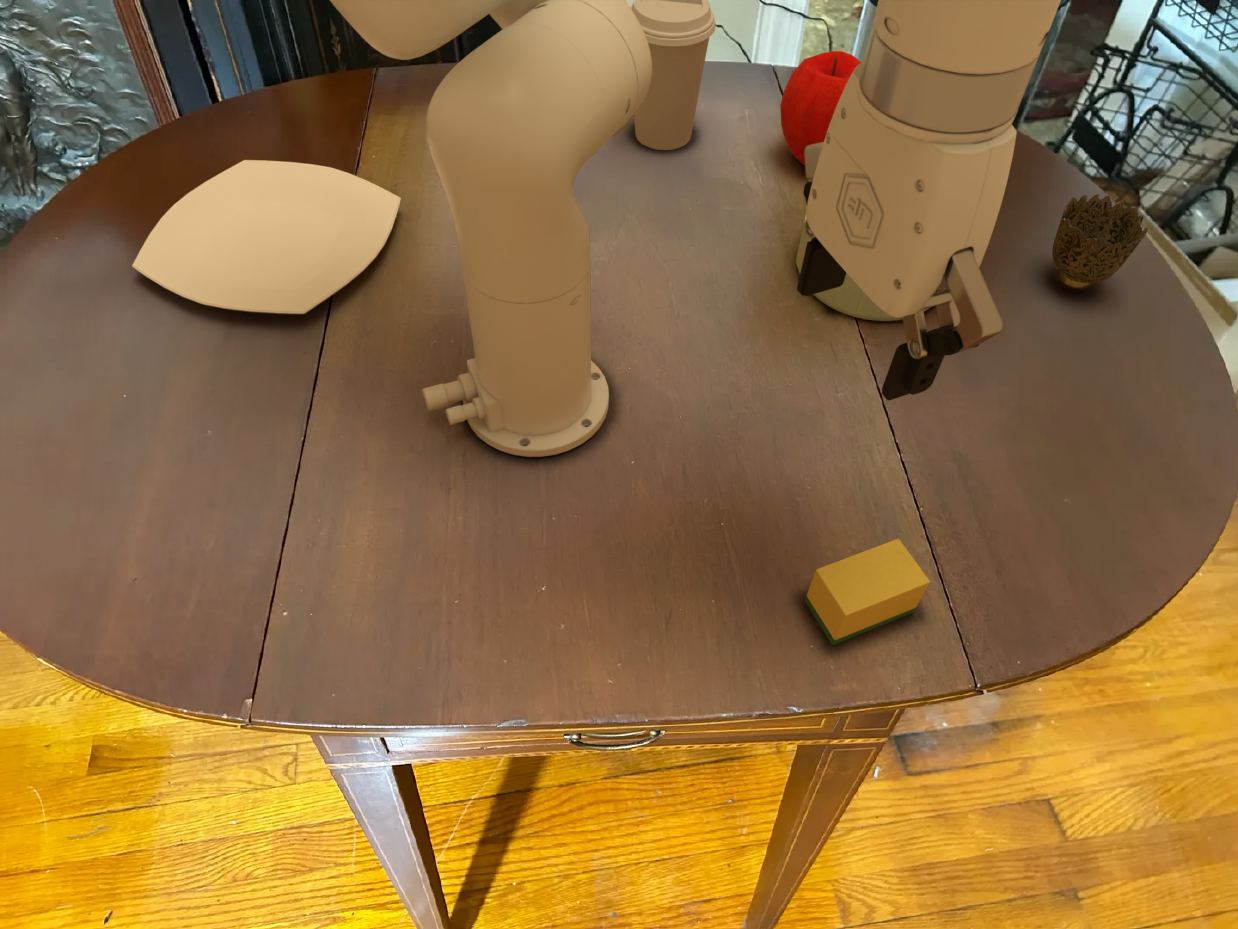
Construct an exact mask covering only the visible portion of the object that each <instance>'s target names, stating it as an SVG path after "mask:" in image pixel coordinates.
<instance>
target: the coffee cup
mask: <svg viewBox="0 0 1238 929" xmlns="http://www.w3.org/2000/svg"><path fill="white" fill-rule="evenodd" d="M630 8H631V9H632V11H633V13H634V14H635V16H636V18H637V19H638V21H639V23H640V25H641V27H642V29H643V32H644V34H645V36H646V39H647V42H648V45H649V49H650V53H651V59H652V78H651V83H650V88H649V91H648V93H647V95H646V98H645V100H644V101H643V103H642V105H641V106H640V107H639V109H638V110H637V111H636V112H635V113H634V115H633V116H634V130H635V131H634V134H635V139H636V140H637V141H638V142H639V143H640V144H641V145H643V146H645V147H647V148H649V149H653V150H657V151H672V150H678V149H680V148H682V147H684V146H686V145H687V144H688V143H689V142H690V141H691V138H692V132H693V127H694V122H695V116H696V111H697V106H698V100H699V95H700V90H701V89H700V88H701V84H702V79H703V73H704V68H705V63H706V56H707V53H708V52H707V51H708V48H709V47H708V46H709V42H710V37H711V36H712V35H713V34H714V33H715V31H716V26H717V25H716V19H715V16H714V12H713V10H712V9H711V5H710V2H709V0H633V3H632V4H631V6H630Z"/></svg>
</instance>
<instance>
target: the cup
mask: <svg viewBox="0 0 1238 929" xmlns="http://www.w3.org/2000/svg"><path fill="white" fill-rule="evenodd" d="M1124 203H1125V201H1124V199H1121V200H1119V201H1117V202H1116V203H1115V204H1114V205H1113V201H1112V200H1111V197H1110V195H1105V196H1104V197H1103V198H1101V196H1100V194H1099V193H1097V194H1094V195H1093V196H1092V197H1090V198H1089V199H1088V194H1083V195H1081V197H1080V198H1079V200H1077V199H1076V197H1074V196H1073V197H1071V199H1070V200H1069V201H1068V202H1067V203H1066V204H1065V205H1064V209H1063V213H1062V216H1061V219H1060V221H1059V224H1058V228H1057V231H1056V233H1055V238H1054V240H1053V244H1052V251H1051V254H1052V255H1051V257H1052V262H1053V265H1054V266H1055V268H1056V270H1055V273H1054V274H1055V282H1056V283H1057V284H1058V286H1059V287H1060V288H1062V289H1063V290H1066V291H1069V292H1070V293H1071V292H1072V293H1084V292H1086V291H1088V290H1090V289H1091V288H1092V287H1093V286H1094V285H1095V283H1099V282H1103V281H1105V280H1107V279H1109V278H1110V277H1112V276H1113V275H1115V274H1116V273H1117V272H1118V271H1119V270H1120V268H1121V267H1122V266H1123V265H1124V264H1125V263H1126V261H1127V260H1128V259H1129V258H1130V256H1132V254H1133V252H1134V251H1135V250H1136V248H1137V247H1138V246H1139V244H1140V243H1141V242H1142V240H1143V239H1144V238H1145V237H1146V234H1147V233H1148V231H1149V227H1144V228H1143V227H1142V226H1141V225H1142V222H1143V220H1144V215H1139V208H1138V207H1137V206H1128V207H1124V205H1125V204H1124Z"/></svg>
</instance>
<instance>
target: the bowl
mask: <svg viewBox="0 0 1238 929" xmlns="http://www.w3.org/2000/svg"><path fill="white" fill-rule="evenodd" d="M806 211H807V208H806V210H805V213H804V214H805V215H804V219H803V222H802V227H801V232H800V236H799V241H798V246H797V252H796V258H795V264H796V267H797V270H798V273H799V274H800V272H801V268H802V264H803V259H804V255H805V250H806V246H807V242H810V241H811V239H809V238H808V237H807V236H806V234H805V230H804V223H805V221H806V220H807V218H806ZM813 296H814V297H815V298H816V299H818V300H819V301H820V302H822V303H823V304H824V305H826V306H827V307H829V308H831V309H833V310H835V311H837V312H839V313H842V314H844V315H847V316H850V317H854V318H857V319H862V320H868V321H876V322H892V321H893V322H894V321H901V320H902V321H903V317H900V318H896V317H893V316H891V315H889V314H887V313H885V312H884V311H882V310H881V309H880V308H879V307H878V306H877V305H876V304H875V303H874V302H873V301H872V300H871V299H870V298H869V297H868V296H867V295H866V294H865V293H864V292H863V291H862V289H861V288H860V287H859V286H858V285H857V284H856V283H855V282H854V281H853V279H852V278H851V277H850V276H849V275H848V274H847V273H846V276H845V280H844V283H843V284H842V285H841V286H840V287H837V288H833V289H830V290H826V291H823V292H819V293H816V294H813ZM929 309H930V308H927V309H923V311H924V312H926V311H928V310H929Z"/></svg>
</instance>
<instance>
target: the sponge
mask: <svg viewBox="0 0 1238 929" xmlns="http://www.w3.org/2000/svg"><path fill="white" fill-rule="evenodd" d="M930 584H931V581H930V580H929V578H928V576H927V575H926V573H925V572H924V571H923V569H922V568H921V567H920V565H919V564H918V562H917V561H916V560H915V559H914V557H913V556H912V555H911V553H910V552H909V551H908V549H907V547H906V546H905V545H904V544H903V542H902V541H901V540H900V538H895V539H893V540H891V541H890V540H889V541H888V542H885V543H883V544H880V545H876V546H875V547H872V548H869V549H867V550H864V551H860V552H859V553H857V554H852V555H851V556H847V557H845V558H843V559H841V560H838V561H835V562H832V563H829V564H827V565H824V566H822V567H819V568H817V569H815V571H814V574H813V577H812V579H811V582H810V585H809V587H808V591H807V593H806V595H805V599H804V603H805V605H806V606H807V608H808V609H809V611H810V613H811V614H812V616H813V617H814V619H815V621H816V622H817V624H818V625H819V627H820V628H821V630H822V632H823V633H824V636H826V638H827V639H828V642H829V643H830V645H831V646H835V645H838V644H840V643H843V642H846V641H848V640H851V639H853V638H855V637H857V636H860V635H862V634H865V633H867V632H870V631H872V630H874V629H878V628H880V627H882V626H885V625H887V624H890V623H892V622H895V621H897V620H899V619H902V618H904V617H905V618H906V617H907V616H909V615H912V614H914V612H915V610H917V607H918V605H919V603H920V602H921V599H922V598H923V596H924V594H925V592H926V590H927V589H928V587H929V585H930Z"/></svg>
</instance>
